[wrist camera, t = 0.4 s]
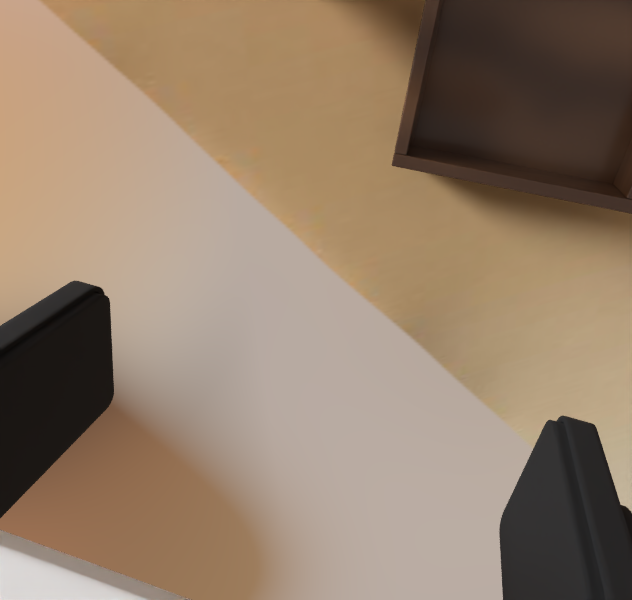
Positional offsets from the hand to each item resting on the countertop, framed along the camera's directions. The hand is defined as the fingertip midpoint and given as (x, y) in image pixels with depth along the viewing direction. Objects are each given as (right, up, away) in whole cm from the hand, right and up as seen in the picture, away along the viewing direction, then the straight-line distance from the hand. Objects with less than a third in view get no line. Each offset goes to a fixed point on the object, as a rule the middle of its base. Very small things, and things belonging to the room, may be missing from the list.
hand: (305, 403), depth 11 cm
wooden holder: (+14, +17, +22) cm, 31 cm away
